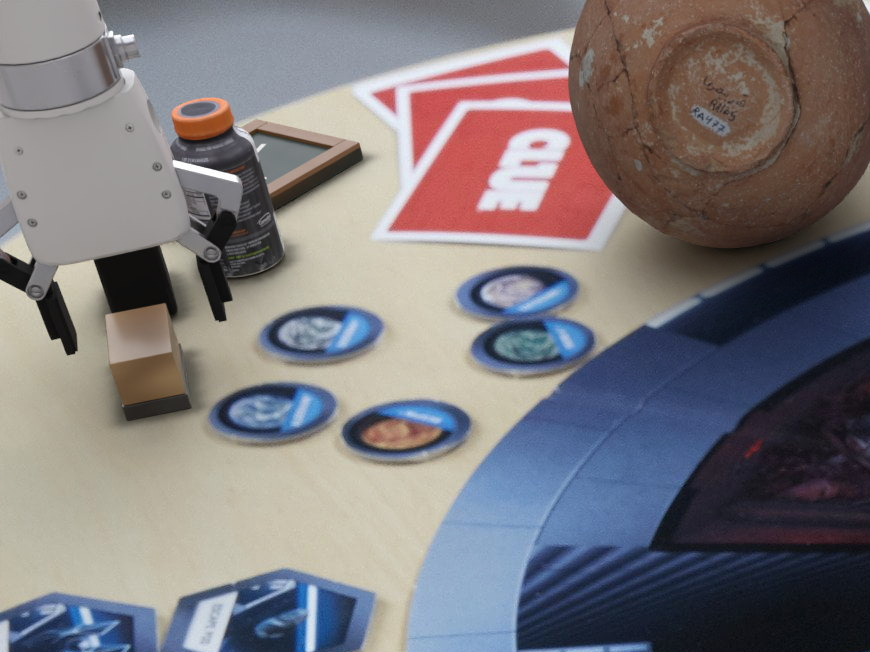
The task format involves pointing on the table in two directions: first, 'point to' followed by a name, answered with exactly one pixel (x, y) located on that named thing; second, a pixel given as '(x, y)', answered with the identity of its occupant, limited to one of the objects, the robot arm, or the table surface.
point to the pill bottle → (235, 154)
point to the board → (298, 158)
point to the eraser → (147, 362)
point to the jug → (724, 111)
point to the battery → (136, 280)
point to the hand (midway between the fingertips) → (146, 329)
